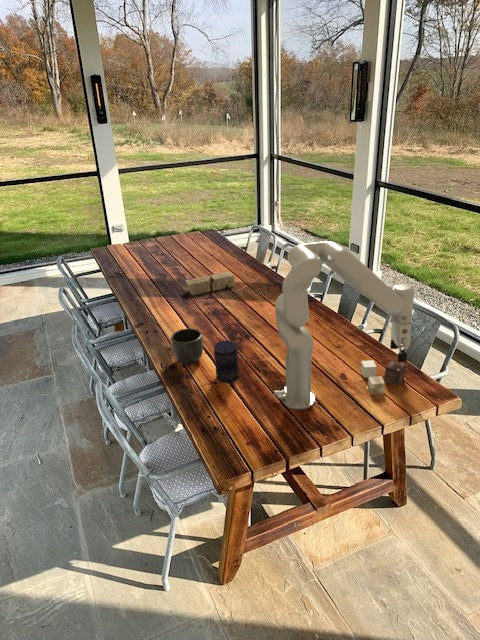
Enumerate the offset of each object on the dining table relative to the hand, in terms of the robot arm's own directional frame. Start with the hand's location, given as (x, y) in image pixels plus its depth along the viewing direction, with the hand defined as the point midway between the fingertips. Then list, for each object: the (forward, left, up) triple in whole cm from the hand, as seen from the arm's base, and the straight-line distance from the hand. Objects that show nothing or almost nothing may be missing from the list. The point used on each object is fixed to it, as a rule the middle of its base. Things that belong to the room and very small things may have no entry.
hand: (398, 354), depth 183 cm
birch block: (-10, -6, -12) cm, 17 cm away
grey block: (-10, +6, -12) cm, 17 cm away
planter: (-87, +24, -12) cm, 91 cm away
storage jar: (-69, +9, -12) cm, 70 cm away
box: (-1, 0, -12) cm, 12 cm away
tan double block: (-81, +108, -13) cm, 136 cm away
